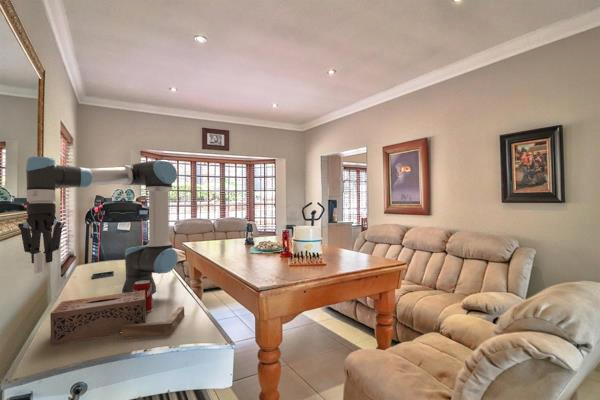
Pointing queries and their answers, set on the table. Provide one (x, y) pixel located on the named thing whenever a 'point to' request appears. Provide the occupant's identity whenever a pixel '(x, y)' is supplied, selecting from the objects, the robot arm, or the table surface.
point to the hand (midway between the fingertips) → (42, 272)
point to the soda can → (148, 292)
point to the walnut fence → (154, 326)
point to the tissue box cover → (96, 316)
